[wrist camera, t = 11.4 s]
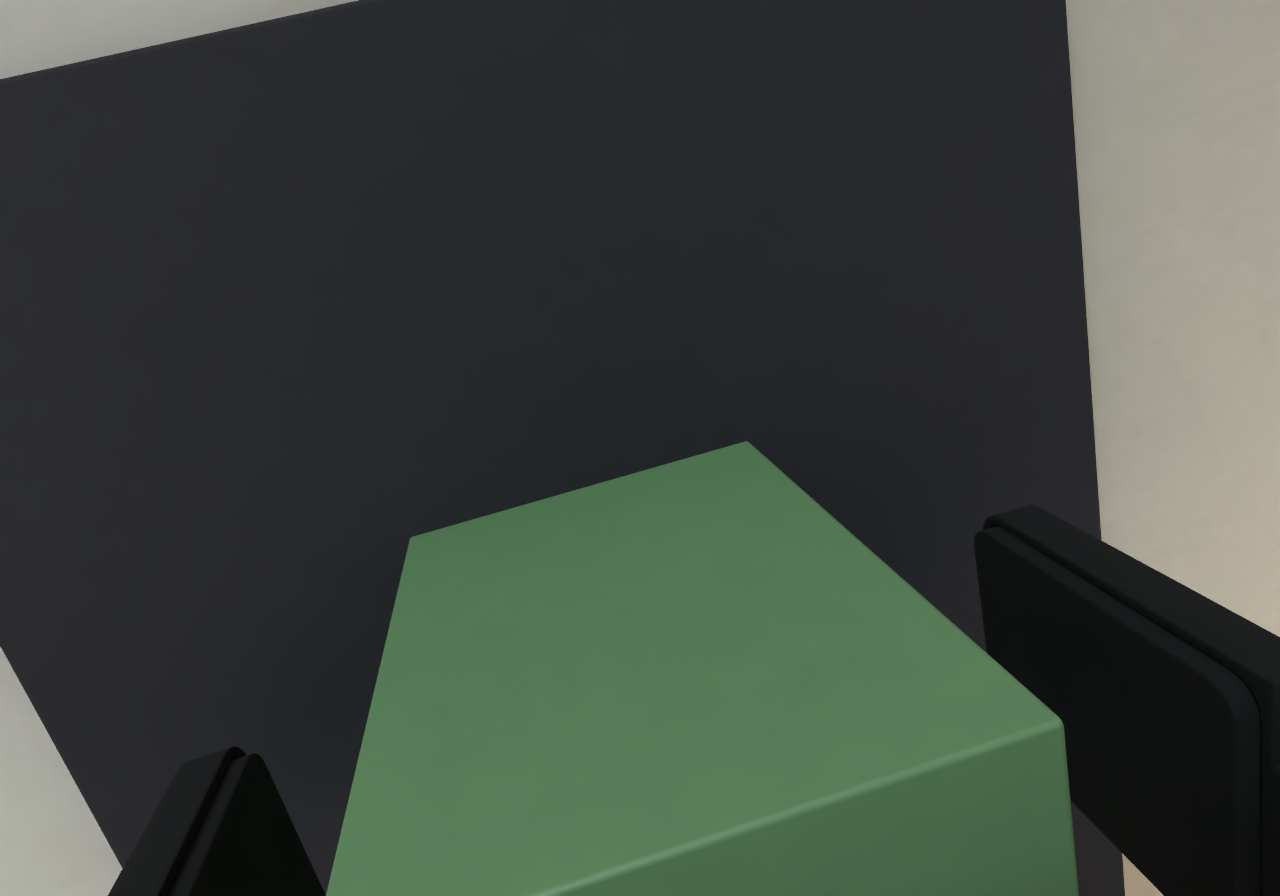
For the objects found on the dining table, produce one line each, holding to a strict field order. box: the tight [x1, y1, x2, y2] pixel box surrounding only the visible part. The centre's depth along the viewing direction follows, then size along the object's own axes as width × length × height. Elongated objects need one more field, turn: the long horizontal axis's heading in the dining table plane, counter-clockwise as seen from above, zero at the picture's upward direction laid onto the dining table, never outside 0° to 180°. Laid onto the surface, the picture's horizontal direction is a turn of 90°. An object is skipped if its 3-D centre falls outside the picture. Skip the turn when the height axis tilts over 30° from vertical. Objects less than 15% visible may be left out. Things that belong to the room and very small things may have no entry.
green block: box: [326, 441, 1079, 896], centre depth 9 cm, size 5×5×7 cm
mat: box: [0, 0, 1125, 896], centre depth 13 cm, size 18×16×1 cm
